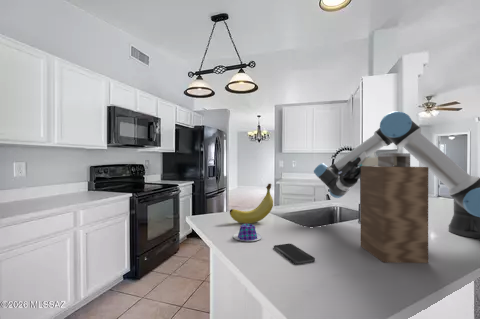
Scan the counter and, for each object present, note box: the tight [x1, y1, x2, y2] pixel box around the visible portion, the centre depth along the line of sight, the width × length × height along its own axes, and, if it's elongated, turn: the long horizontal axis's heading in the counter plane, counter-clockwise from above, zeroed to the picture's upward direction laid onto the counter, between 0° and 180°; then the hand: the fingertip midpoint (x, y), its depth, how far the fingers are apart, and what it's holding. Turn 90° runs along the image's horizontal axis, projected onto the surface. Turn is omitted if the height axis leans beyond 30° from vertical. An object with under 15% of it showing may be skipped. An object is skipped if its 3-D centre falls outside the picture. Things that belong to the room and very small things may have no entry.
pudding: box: [232, 223, 263, 242], centre depth 96 cm, size 12×12×5 cm
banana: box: [229, 183, 274, 224], centre depth 119 cm, size 23×6×20 cm, turn 101°
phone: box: [273, 243, 316, 266], centre depth 79 cm, size 8×1×15 cm
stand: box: [360, 152, 429, 264], centre depth 80 cm, size 14×14×34 cm
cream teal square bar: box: [355, 156, 397, 167], centre depth 90 cm, size 3×22×3 cm, turn 0°
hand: (370, 154), depth 93 cm, fingers closed on cream teal square bar, 3 cm apart
